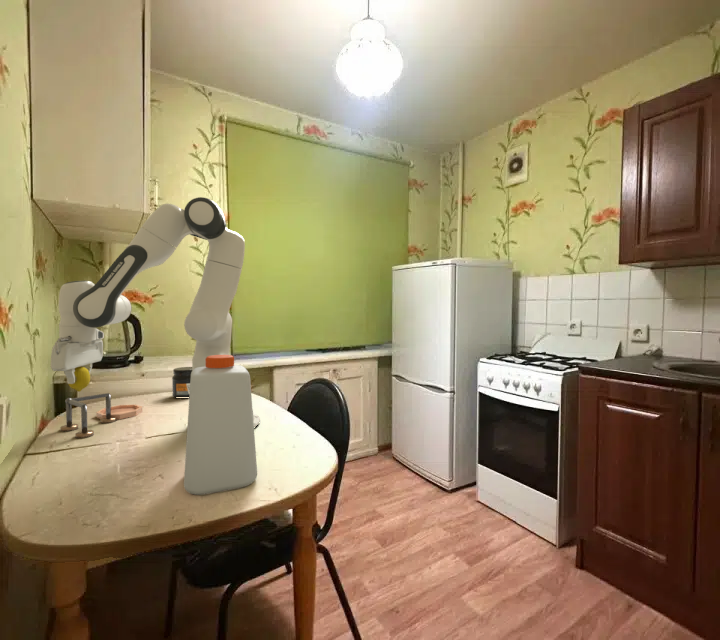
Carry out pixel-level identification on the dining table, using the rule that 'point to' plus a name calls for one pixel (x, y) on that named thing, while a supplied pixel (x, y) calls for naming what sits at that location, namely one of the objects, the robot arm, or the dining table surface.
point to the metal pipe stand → (85, 414)
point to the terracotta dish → (121, 411)
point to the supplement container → (181, 381)
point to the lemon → (81, 378)
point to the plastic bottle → (220, 428)
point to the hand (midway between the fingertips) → (79, 380)
